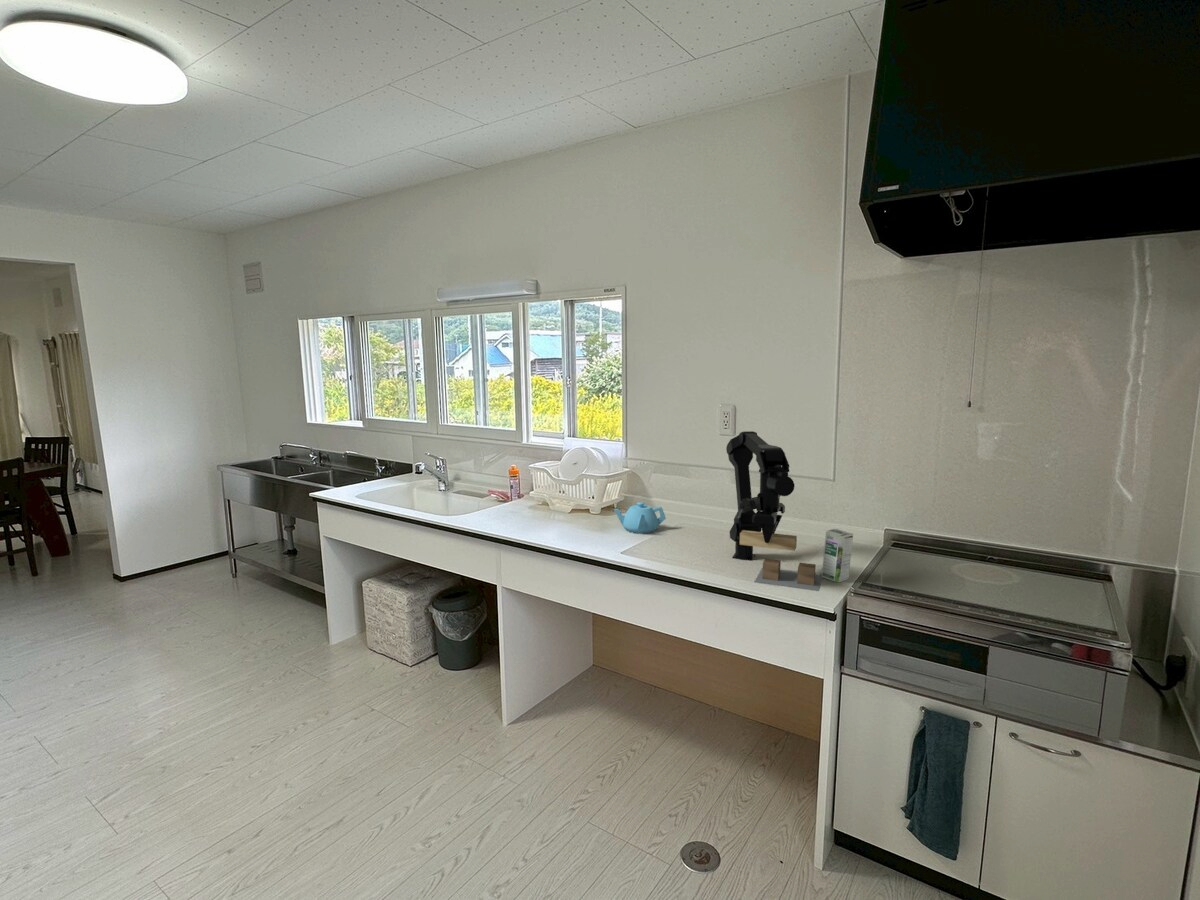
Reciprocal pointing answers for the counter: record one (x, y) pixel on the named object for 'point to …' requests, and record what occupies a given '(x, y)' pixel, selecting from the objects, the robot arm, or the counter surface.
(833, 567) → the syrup box
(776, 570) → the block
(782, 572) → the mat
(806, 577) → the block
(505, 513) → the counter surface
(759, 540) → the plank
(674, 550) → the counter surface
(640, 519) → the teapot
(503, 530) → the counter surface
